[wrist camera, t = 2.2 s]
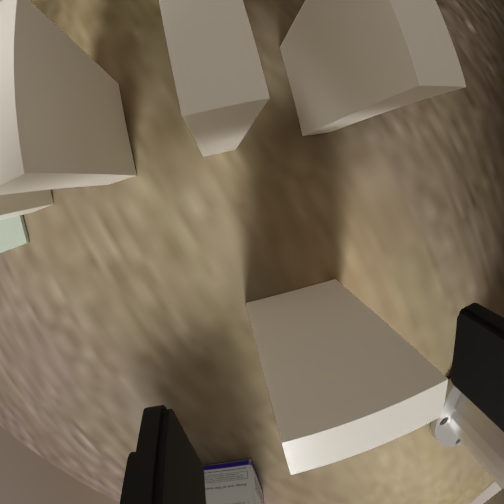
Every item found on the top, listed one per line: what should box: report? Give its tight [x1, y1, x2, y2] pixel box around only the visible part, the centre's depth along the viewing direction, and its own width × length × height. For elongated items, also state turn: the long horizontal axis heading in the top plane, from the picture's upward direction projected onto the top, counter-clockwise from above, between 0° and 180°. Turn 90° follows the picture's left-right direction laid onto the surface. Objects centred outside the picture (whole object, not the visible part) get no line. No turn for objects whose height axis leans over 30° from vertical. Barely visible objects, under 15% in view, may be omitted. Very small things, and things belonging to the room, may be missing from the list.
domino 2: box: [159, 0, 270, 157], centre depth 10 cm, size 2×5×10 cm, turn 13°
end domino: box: [246, 279, 448, 475], centre depth 12 cm, size 2×5×10 cm, turn 102°
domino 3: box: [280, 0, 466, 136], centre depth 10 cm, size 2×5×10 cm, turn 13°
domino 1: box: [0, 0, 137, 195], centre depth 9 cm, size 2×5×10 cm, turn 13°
